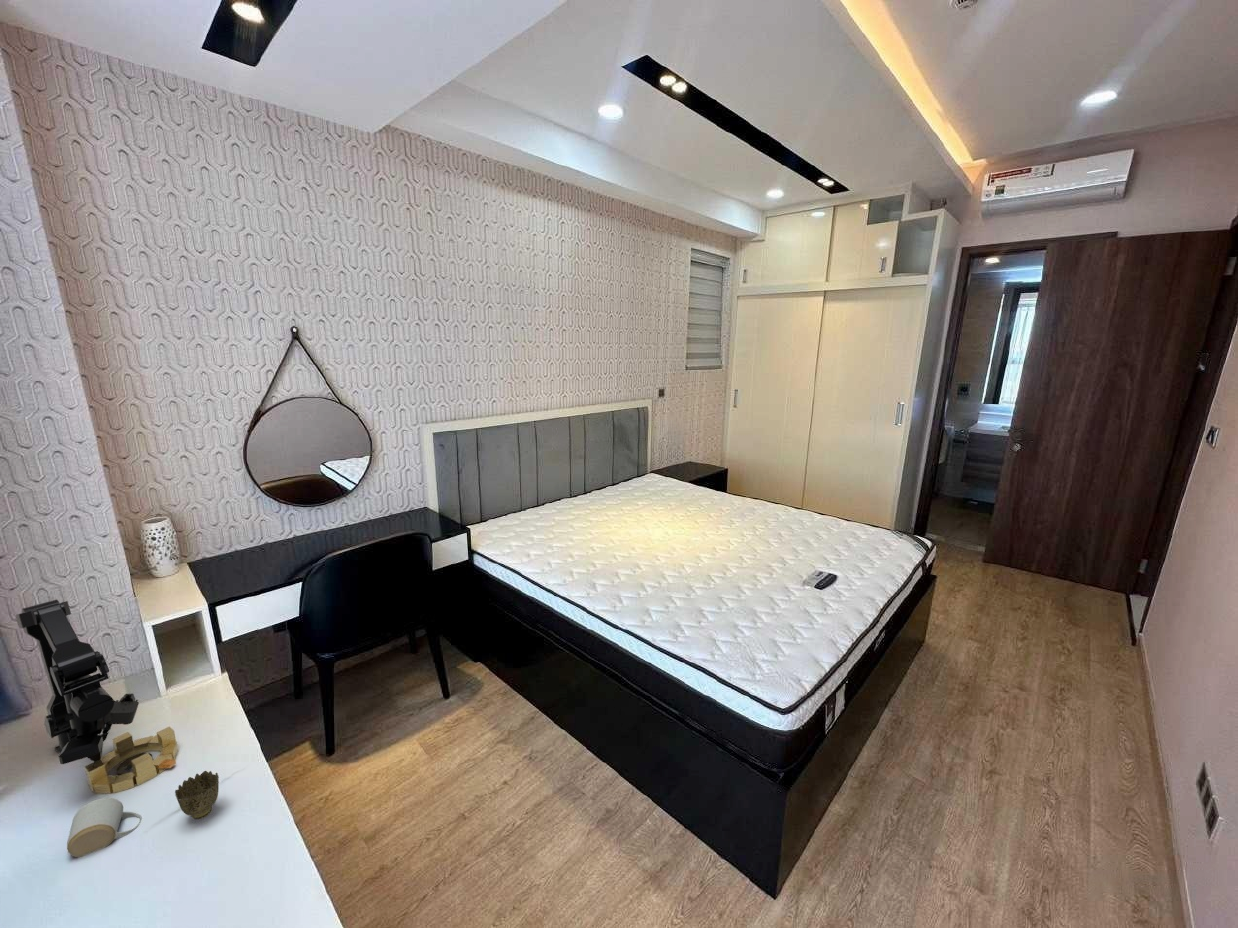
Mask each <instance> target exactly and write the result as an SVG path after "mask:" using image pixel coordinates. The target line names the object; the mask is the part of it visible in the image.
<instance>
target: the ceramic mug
mask: <svg viewBox="0 0 1238 928" xmlns="http://www.w3.org/2000/svg"><path fill="white" fill-rule="evenodd" d="M129 818H135V819H139V822H138V824H136V826H134V827H133V828H131V829H129V830H125V831H119V825H120V823H121V820H124V819H125V820H126V819H129ZM142 819H143V818H142V815H141V814H139V813H137V812H133V811H124V805H123V803H122V801H120V800H118V799H116V798H111V797H103V798H99V799H95V800H92V801H89V802H88V803H86V804H85V805H82V806H81V807H80V808H79V809H78V810H77V812H76V813H74V816H73V818H72V822H71V826H70V830H69V835H68V838H67V843H66V849H67V853H69V855H71V856H72V857H75V858H82V857H83V856H86V855H89V854H91V853H94V852H96V851H98V850H101V849H103V848H106V847H108V846H109V845H111V843H112V842H113V841H115V840H119V839H120V838H123V837H125V836H127V835H128V834H131V833H132V832H133V831H135V830H136V829H137V828H138V827H140V826H139V825H140V824H141V823H142Z"/></svg>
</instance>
